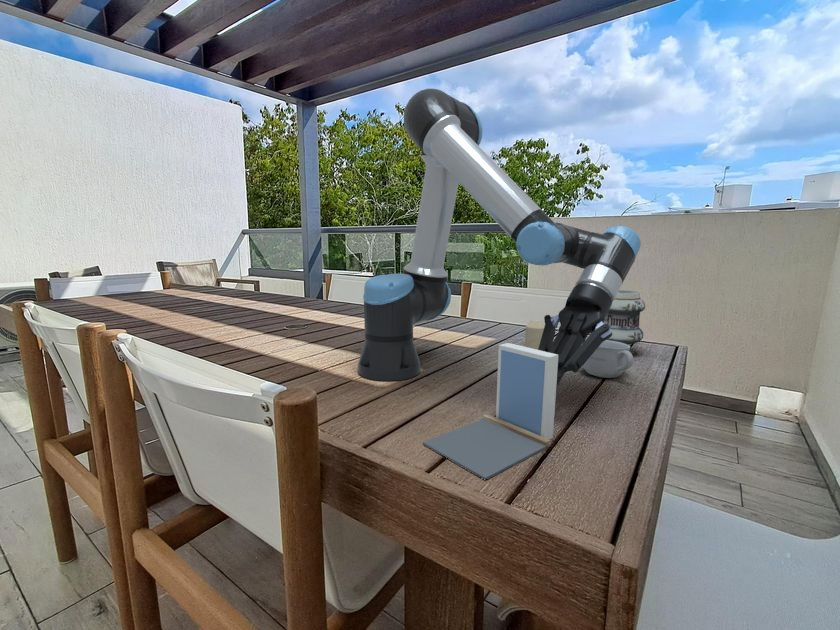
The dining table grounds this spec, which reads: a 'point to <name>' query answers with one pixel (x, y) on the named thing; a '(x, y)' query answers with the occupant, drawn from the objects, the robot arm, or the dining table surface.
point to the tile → (527, 388)
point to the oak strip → (517, 430)
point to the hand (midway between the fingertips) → (537, 398)
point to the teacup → (609, 359)
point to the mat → (484, 448)
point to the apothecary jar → (625, 318)
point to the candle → (533, 334)
